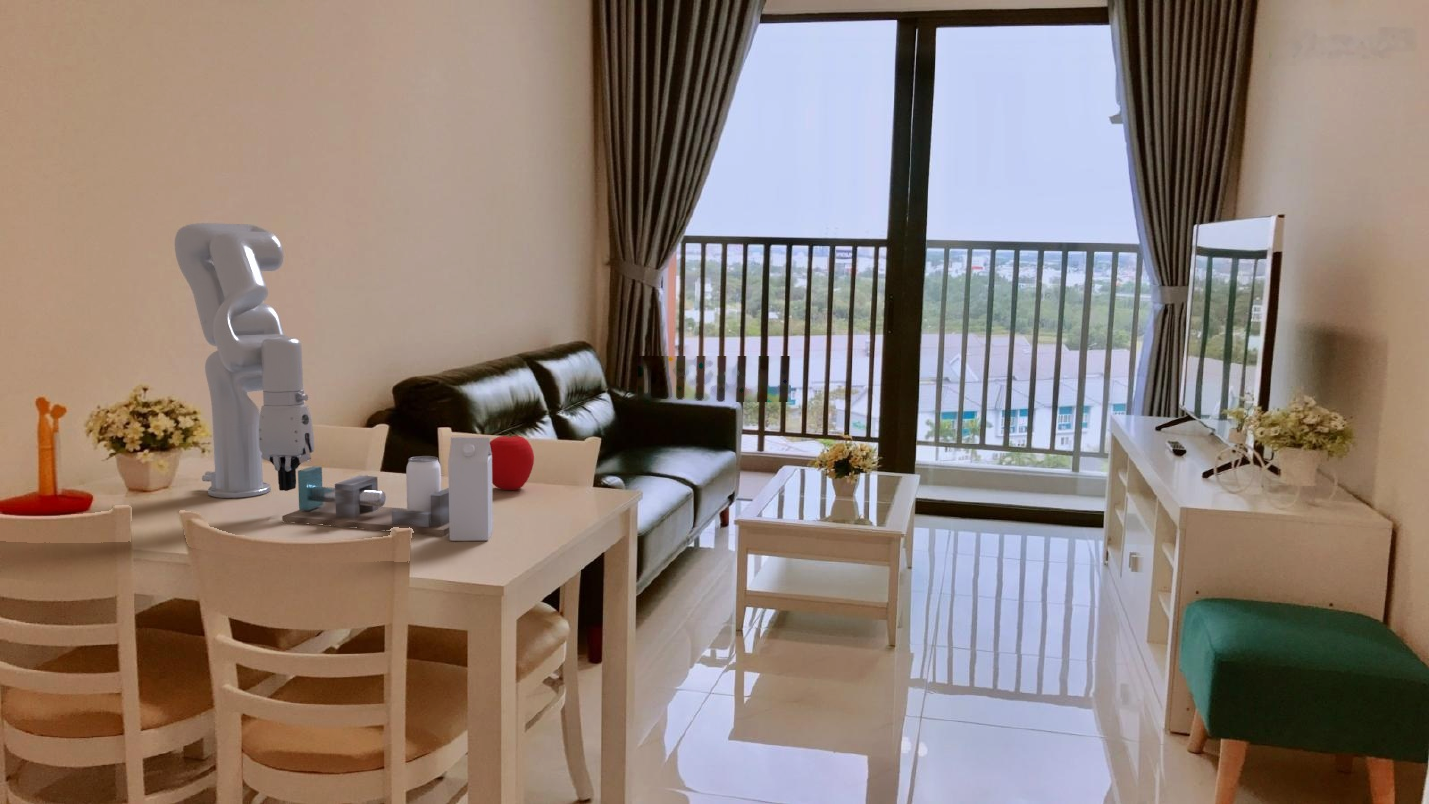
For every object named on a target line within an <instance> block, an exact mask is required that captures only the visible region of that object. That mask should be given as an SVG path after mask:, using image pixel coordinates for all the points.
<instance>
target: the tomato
mask: <svg viewBox="0 0 1429 804" xmlns="http://www.w3.org/2000/svg"><path fill="white" fill-rule="evenodd" d="M490 447H491V452H492V486H494V487H496V488H498V489H499V490H504V491H516V490H517V491H518V490H519V489H521V488H523V487H524V485H525V484H526V483H527V482H528V480H529V478H530V476H531V474H532V471H533V468H534V464H535V463H534V462H535V455H534V450H533V448H532V446H531V443H530V442H529V441H528V439H526V438H525V437H523V436H521V435H518V434H512V432H510V433H509V434H507V433H506V434H505V435H501V436H497V437H495V438H493V439H492V440H490Z"/></svg>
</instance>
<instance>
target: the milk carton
mask: <svg viewBox="0 0 1429 804" xmlns="http://www.w3.org/2000/svg"><path fill="white" fill-rule="evenodd" d="M490 441H491V438H490V437H489V436H479V437H478V436H451V437H450V447H449V453H448V462H447V463H448V488H449V531H450V533H449V541H454V542H455V541H456V542H457V541H462V542H463V541H466V542H467V541H469V542H470V541H489V539H490V537H491V535H492V533H493V532H494V531H493V530H494V528H493V527H494V526H493V525H494V521H493V519H494V517H493V515H494V513H493V508H494V507H493V484H492V452H491V447H490Z"/></svg>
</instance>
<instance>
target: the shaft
mask: <svg viewBox="0 0 1429 804" xmlns="http://www.w3.org/2000/svg"><path fill="white" fill-rule="evenodd" d="M297 484H298V485H297V487H298V488H297V489H298V507H299V508H298V510H307V511H308V510H311V509H314V508H316V507H319V506H322V505H323V502H330V503H335V487H330V486H323V467H322V466H310V467H307V468H303V469H300V470H297ZM386 496H387V495H386V493H385V492H384V491H383V490H382V491H381V490H380V491H379V490H378V491H370V490H359V505H367V506H379V507H384V505H385V504H386V499H387V498H386Z"/></svg>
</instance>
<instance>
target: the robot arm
mask: <svg viewBox="0 0 1429 804" xmlns="http://www.w3.org/2000/svg"><path fill="white" fill-rule="evenodd" d="M174 252H175V257H176V260H177V264H178V267H179V269H180V270H181V273H182V275H183V277H184V278H185V280H186V282H187V284H188V286H189V287H190V289H191V291H192V295H193V298H194V302H195V306H196V311H197V314H198V318H199V322H200V327H201V329H202V330H201V331H202V333H203V336H204V338H205V340H206V342H207V343H208V344H209V345H210V346H212V347H213V346H214V347H216V349H217V350H216V351H213V352H212V353H211V354H209V356H208V357H207V358H206V360H205V365H204V368H205V369H204V371H205V377H206V382H207V386H208V390H209V391H208V392H209V396H210V403H211V414H212V416H211V418H212V436H213V438H212V439H213V455H214V456H213V457H214V460H213V461H214V471H211V470H210V471H205V473H204V475H202V477H201V480H202V481H203V482H211V483H210V484H211V486H210V487H208V489H207V494H208V496H211V497H213V498H223V499H234V498H235V499H237V498H248V497H254V496H261V495H264V494H266V493H269V492H271V488H272V487H271V484H270V483H268V482H266V481H264V480H263V475H264V474H263V460H264V461H267V462H270V463H271V464H272V465H273V467H274V470H275V471H277V480H278V481H277V482H278V489H279V491H285V492H288V491H291V490H294V489H296V487H297V476H296V474H297V470H298V469H299V466H300V465H301V464H302V463H305V462H309V461H311V460H312V456H311V453H314V451H315V437H314V429H313V423H312V422H313V421H312V416H311V413H310V409H309V407H308V405H306V404H305V402H307V401H308V399H309V396H308V394H304V377H303V375H304V373H303V352H302V342H301V341H300V340H299V339H298V338H296V337H289V336H287V335H286V334H285V333H284V331H283V330H284V329H283V327H282V323H281V320H280V316H279V315H278V312H276V310H275V309H274V307H272V306H271V305H269V304H267V303H264V302H265V301H266V299H267V298H268V294H269V290H268V286H267V284H266V281H265V278H264V274H263V272H274V271H278V270H279V269H281V267H282V265H283V262H284V257H285V256H284V249H283V246H282V242H281V241H280V239H279V238H278V236H277V235H275V234H274V233H273V232H271V231H269V230H268V229H264V228H263V227H259V226H257V225H254V224H244V223H243V224H242V223H220V222H219V223H218V222H215V223H214V222H207V223H206V222H199V223H198V222H197V223H190V224H186V225H183V226H181V227H180V228H179V229H178V230H177V232H176V233H175V236H174ZM259 391H262V395H263V397H262V400H263V405H262V406H261V408H260V410H259V408H258V405H257V404H256V403H255V402H254V401H253V400H252V398H251V397H250V396H249V395H248V393H250V392H259Z"/></svg>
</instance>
